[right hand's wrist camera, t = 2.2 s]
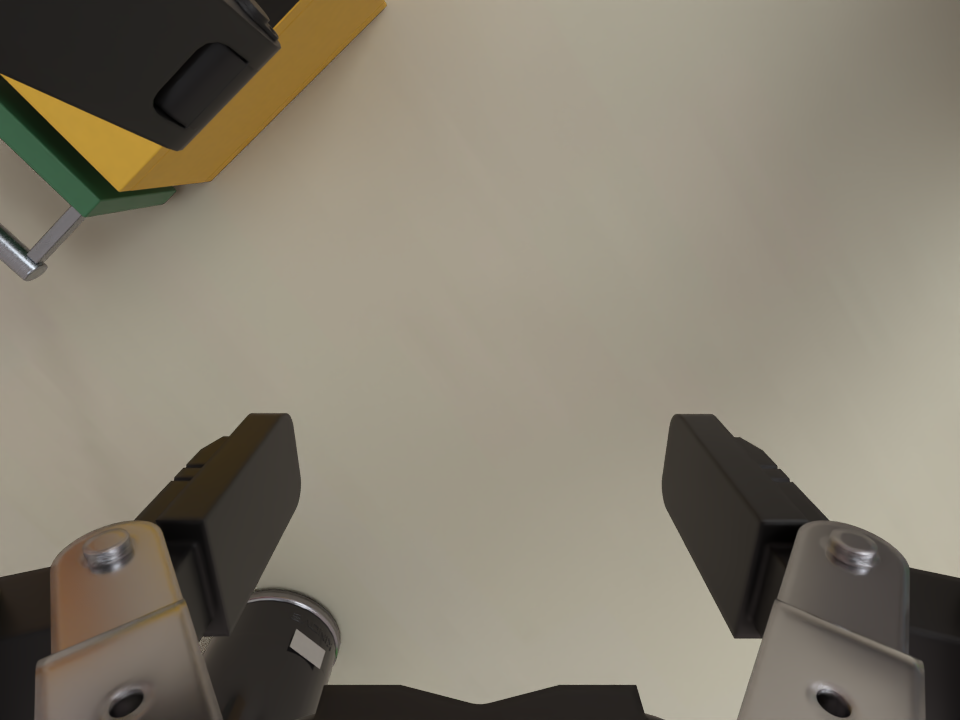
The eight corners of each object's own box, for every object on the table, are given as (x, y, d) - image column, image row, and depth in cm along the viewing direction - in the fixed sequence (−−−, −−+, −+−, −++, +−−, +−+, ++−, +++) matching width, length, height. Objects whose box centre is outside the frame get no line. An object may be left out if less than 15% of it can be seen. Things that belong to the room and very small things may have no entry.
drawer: (100, 269, 31) (9, 297, 25) (-39, 140, 28) (-176, 138, 22) (321, 44, 27) (276, 14, 21) (183, -130, 24) (86, -221, 18)
